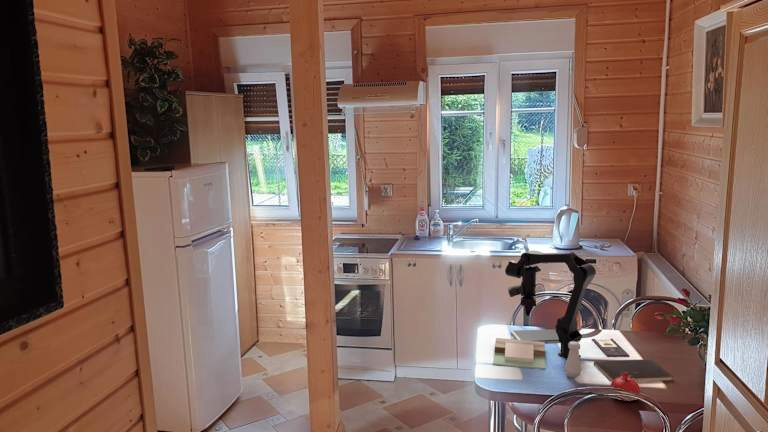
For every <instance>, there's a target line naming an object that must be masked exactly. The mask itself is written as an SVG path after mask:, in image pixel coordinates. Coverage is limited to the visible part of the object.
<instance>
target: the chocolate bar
mask: <svg viewBox="0 0 768 432" xmlns="http://www.w3.org/2000/svg"><path fill="white" fill-rule="evenodd" d="M591 341H592V342H593V343H594V344H595V345H596V346H597V347H598V348H599V350H600V351H601V352H602V354H604V355H605V357H609V358H611V357H612V358H613V357H614V358H617V357H618V358H619V357H621V358H622V357H624V358H625V357H626V358H627V357H629V358H630V354H629V353H628V352H627V351H626V350H625V349H623V347H621V346H620V345H619V343H617V342H616V341H615V340H614V339H613V338H591Z"/></svg>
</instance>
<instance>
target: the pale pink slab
mask: <svg viewBox="0 0 768 432" xmlns="http://www.w3.org/2000/svg"><path fill="white" fill-rule="evenodd" d="M505 360H510V361H521V362H533V345H530V344H517V343H506V346H505Z"/></svg>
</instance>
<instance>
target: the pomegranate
mask: <svg viewBox="0 0 768 432" xmlns="http://www.w3.org/2000/svg"><path fill="white" fill-rule="evenodd" d="M624 374H625V376H624V375H623V374H620V375H622V376H621V377H615V378H617V379H615V380H613V381H612V382H611V381H610V382H611V383H610V385H609V386H610V387H614V388H620V389H624V390H628V391H632V392H636V393H640V394H641V393H642V392H641V388H640V385H639V383H638V381H637V382H635V380H634V379H635V378H629V377H630V376H631V375H630V376H628V377H627V372H624ZM631 377H632V376H631ZM637 380H638V379H637Z"/></svg>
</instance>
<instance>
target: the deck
mask: <svg viewBox="0 0 768 432" xmlns="http://www.w3.org/2000/svg"><path fill="white" fill-rule="evenodd" d="M506 343H517V344H530V345H533V356H540V357H545V358H546V345H545V344H546V343H545V342H540V341H528V340H516V339H515V338H511V339H510V338H501V337H496V338H495V342H494V353H505V346H506Z"/></svg>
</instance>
